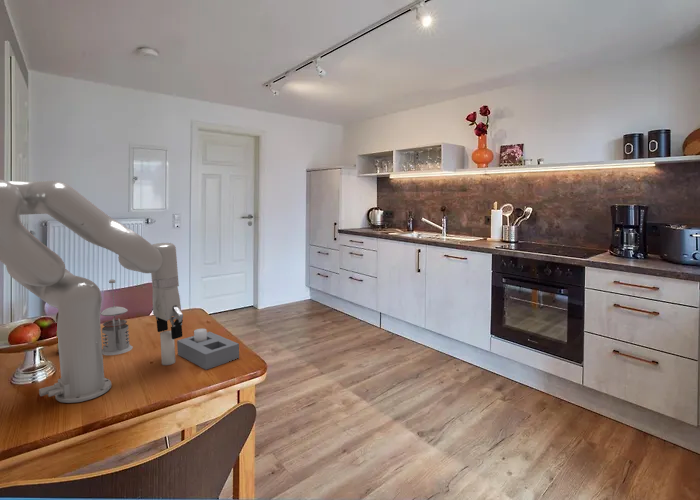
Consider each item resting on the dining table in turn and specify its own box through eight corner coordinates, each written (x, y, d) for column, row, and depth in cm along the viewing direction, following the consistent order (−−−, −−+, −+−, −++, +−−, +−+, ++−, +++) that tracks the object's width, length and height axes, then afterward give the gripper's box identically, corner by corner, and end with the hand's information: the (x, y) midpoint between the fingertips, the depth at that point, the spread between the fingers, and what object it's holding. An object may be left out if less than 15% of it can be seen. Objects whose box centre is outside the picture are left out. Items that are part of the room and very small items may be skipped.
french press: (130, 342, 143) (126, 275, 139) (135, 352, 133) (131, 281, 130) (99, 348, 137) (93, 278, 134) (101, 359, 128) (96, 284, 124)
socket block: (206, 369, 121) (205, 345, 120) (177, 354, 132) (176, 331, 131) (239, 358, 130) (238, 335, 129) (210, 344, 141) (209, 323, 140)
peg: (165, 366, 123) (163, 335, 122) (159, 362, 126) (157, 332, 124) (177, 362, 126) (176, 332, 125) (171, 359, 129) (170, 329, 127)
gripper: (141, 280, 125) (146, 331, 128) (166, 289, 114) (171, 344, 117) (164, 276, 131) (168, 325, 134) (190, 284, 120) (194, 337, 123)
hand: (169, 334), depth 125 cm, fingers open, 9 cm apart
